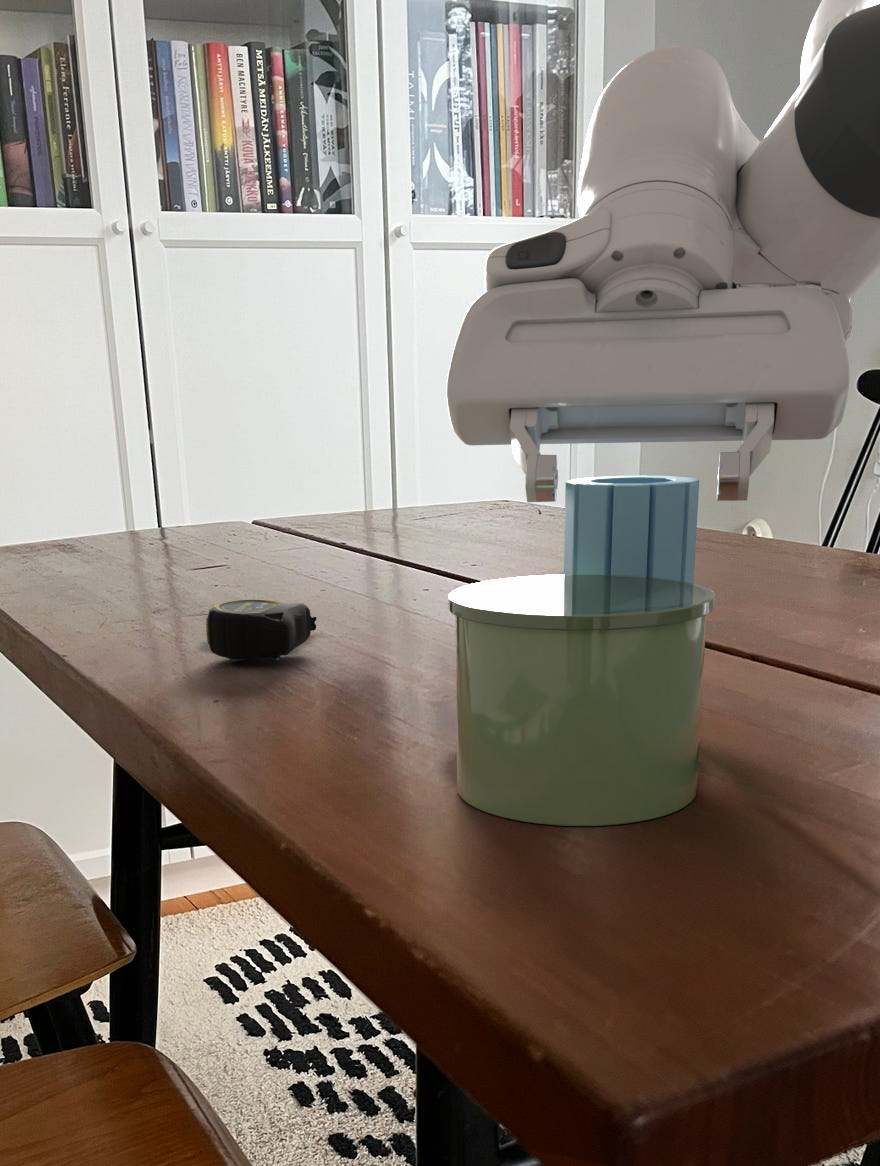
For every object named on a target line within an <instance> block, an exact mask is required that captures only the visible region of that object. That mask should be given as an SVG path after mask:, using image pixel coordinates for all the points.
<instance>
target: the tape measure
mask: <svg viewBox="0 0 880 1166" xmlns="http://www.w3.org/2000/svg"><path fill="white" fill-rule="evenodd" d="M205 622H206V623H205V627H206V629H205V630H206V632H205V633H206V641H207V645H208V646H209V649H210V652H211V653H212V654H215V656H219V657H221V658H227V659H229V660H230V661H231V662H235V663H236V662H239V661H244V660H256V659H271V660H276V661H280V660H281V657H282V656H287V655H289V654H290V653H291V652H293V651H294V650H295V649H296V648H298V647H299V646H301V645H303V644H304V643H306V642H307V641H308V639H309V638H310V637H311V634H312V631H313V632H314V631H316V629H317V624H316V622H317V616H312V613H311V610H310V608H309V606H308V605H306V604H305V603H303V602H283V601H282V602H281V601H278V600H271V599H270V600H269V599H239V600H230V601H225V602H219V603H217V604H215V605H213V606H212V607H210V609H209V610H208V614H207V616H206V619H205Z"/></svg>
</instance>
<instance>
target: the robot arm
mask: <svg viewBox="0 0 880 1166" xmlns="http://www.w3.org/2000/svg"><path fill="white" fill-rule="evenodd" d="M799 75H800V76H799V77H800V84H799V85H798V86H797V88H796V90H795V91H794V92H793V94H792V95H791V97H790V98H789V100H788V101H787V102H786V104H785V105H784V107H783V109H782V110H781V112H780V113H779V114H778V116H777V117H776V118H775V120H774V121H773V123H772V124H771V126H770V127H769V129H768V130H767V132H766V133H765V134H764V136H763V137H762V139H761V140H759V139H758V138H757V137H756V135H754V133H753V132H752V131H751V130H750V128H749V127H748V125H747V124H746V123H745V122H744V120H743V118H742V117H741V115H740V114H739V112H738V111H737V109H736V106H735V104H734V101H733V98H732V93H731V88H730V86H729V81H728V80H727V77H726V75H725V72H724V71H723V68H722V66H721V65H720V64H719V63H718V61H717V59H715V58H714V57H713V56H712V55H711V54H710V53H708V52H707V51H705V50H703V49H700V48H699V47H696V46H690V45H685V44H671V45H666V46H661V47H658V48H655V49H652V50H650V51H648V52H645V53H644V54H642V55H639V56H638V57H636V58H634V59H633V60H631V61H630V62H628V64H626V65H625V66H624V67H623V68H621V69H620V70H619V71H618V72H617V73H616V74H615V75H614V76H613V78H612V79H611V80H610V81H609V82H608V84H607V85H606V87H605V88H604V89H603V92H602V93H601V95H600V96H599V98H598V100H597V103H596V105H595V106H594V107H595V108H594V110H593V113H592V116H591V119H590V122H589V125H588V129H587V133H586V138H585V142H584V147H583V152H582V158H581V164H580V172H579V180H578V188H577V207H578V214H579V218H577V219H575V220H573V221H571V222H569V223H567V224H564V225H561V226H558V227H557V228H554V229H550V230H548V231H545V232H542V233H539V234H535V235H532V236H530V237H526V238H522V239H519V240H515V241H512V242H508V243H504V244H502V245H499V246H497V247H495V248H493V249H492V250H491V251H490V252H489V253H488V254H487V257H486V258H485V266H484V267H485V268H484V271H485V272H484V292H483V293H482V294H480V295H479V296H478V297H477V298H476V299H474V301H473V302H472V303H471V304H470V305H469V307H468V309H467V310H466V312H465V315H464V317H463V320H462V322H461V325H460V327H459V331H458V334H457V337H456V340H455V344H454V347H453V351H452V354H451V358H450V363H449V368H448V374H447V378H446V389H445V390H446V391H445V393H446V394H445V395H446V404H447V412H448V416H449V417H448V418H449V421H450V426H451V429H452V431H453V432H454V434H455V435H456V436H457V438H459V440H461V442H462V443H464V444H465V445H466V446H473V447H474V446H509V445H511V449H512V450H511V451H512V456H513V458H514V460H515V461H516V463H517V464H518V466H519V467H520V468H521V470H522V471H523V474H524V475H525V477H524V478H525V479H524V480H525V482H524V483H525V487H524V488H525V496H526V502H527V503H548V502H549V503H551V502H552V503H553V502H554V503H555V502H557V496H558V495H557V494H558V493H557V490H558V486H559V469H558V456H557V454H541V452H540V450H541V445H567V444H568V445H569V444H570V445H571V444H572V445H573V444H575V445H576V444H577V445H578V444H625V443H626V444H627V443H628V444H629V443H684V442H685V443H686V442H689V443H690V442H693V443H694V442H695V443H696V442H740V441H741V444H740V446H739V447H738V448H737V450H736V451H722V452H719V457H718V458H719V459H718V470H717V490H716V491H717V492H716V501H717V502H737V501H739V502H740V501H744V502H745V501H748V497H749V496H748V495H749V486H750V477H751V476H752V474H753V473H754V472H755V471H756V469H757V468H758V467H759V466H760V464H761V463H762V462H763V461H764V460H765V458H766V457H767V456H768V455H769V454H770V452H771V447H772V441H805V440H807V441H808V440H809V441H810V440H811V441H813V440H823V439H826V438H827V437H828V436H829V435H830V434H832V433H833V431H834V430H836V428H837V427H839V426H840V424H841V423H842V421H843V418H844V415H845V410H846V406H847V400H848V395H849V388H850V363H849V356H848V349H847V343H846V342H847V340H849V337H850V335H851V333H852V330H853V329H852V328H853V319H852V317H853V316H852V315H853V314H852V306H851V303H850V300H851V298H852V297H854V295H855V294H856V293H857V292H858V291H859V289H860V288H861V287H862V286H863V285H864V284H865V283H866V282H867V281H868V280H869V279H870V278H871V277H872V275H873V274H874V273H875V272H876V271H877V270H878V268H879V267H880V0H821V1H820V3H819V6H818V7H817V9H816V12H815V14H814V16H813V19H812V21H811V23H810V26H809V28H808V32H807V34H806V38H805V41H804V45H803V50H802V56H801V62H800V74H799Z"/></svg>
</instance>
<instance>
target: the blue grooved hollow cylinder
mask: <svg viewBox="0 0 880 1166" xmlns="http://www.w3.org/2000/svg"><path fill="white" fill-rule="evenodd" d="M564 490H565V492H564V496H565V498H564V499H565V500H564V503H565V504H564V537H563V538H564V541H563V543H564V546H563V575H564V574H608V575H631V576H646V577H657V578H666V579H673V580H679V581H685V582H690V583H694V584H695V581H694V579H695V564H696V547H697V531H698V530H697V529H698V528H697V527H698V510H699V493H700V479H699V478H693V477H688V476H681V475H679V476H674V475H616V476H611V475H610V476H609V475H607V476H592V477H591V476H590V477H589V476H588V477H582V478H574V479H570V480H566V481H565V489H564Z"/></svg>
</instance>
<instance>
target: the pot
mask: <svg viewBox="0 0 880 1166" xmlns="http://www.w3.org/2000/svg"><path fill="white" fill-rule="evenodd" d="M715 601H716V595H715V592H714V591H713V590H712V589H710V588H708V587H706V586H704V585H701V584H698V583H695V582H694V583H690V582H685V581H679V580H673V579H666V578H657V577H646V576H631V575H608V574H564V573H563V574H544V575H527V576H516V577H507V578H498V579H497V578H496V579H490V580H485V581H480V582H475V583H470V584H467V585H463V586H460V587H458V588H456V589H454V590H452V591H451V592H450V593H448V596H447V606H448V607H447V608H448V611H449V612H450V613H451V614H452V615H453V616H454V629H455V630H454V633H455V637H454V638H455V643H454V644H455V711H456V712H455V714H456V715H455V721H456V722H455V723H456V726H455V727H456V733H455V734H456V790H457V793H458V795H459V797H460V798H461V799H462V800H463V802H465V803H466V804H468V805H469V806H471V807H473V808H475V809H477V810H479V811H482V812H485V813H487V814H490V815H493V816H497V817H499V818H504V819H508V820H512V821H517V822H518V821H519V822H522V823H523V822H524V823H530V824H538V825H545V826H546V825H547V826H561V827H562V826H563V827H600V826H601V827H602V826H603V827H604V826H616V825H627V824H633V823H640V822H644V821H649V820H653V819H658V818H662V817H665V816H668V815H670V814H673V813H677V812H678V811H680V810H682V809H684V808H685V807H687V806H688V805H689V804H691V803H692V802H693V800H695V797H696V795H697V787H698V772H699V770H698V769H699V755H700V754H699V753H700V750H699V749H700V735H701V721H702V720H701V718H702V703H703V684H704V667H705V666H704V665H705V650H706V649H705V648H706V635H707V617H708V615H709V614H710V613H712V612H713V610H714V609H715V603H716V602H715Z"/></svg>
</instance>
